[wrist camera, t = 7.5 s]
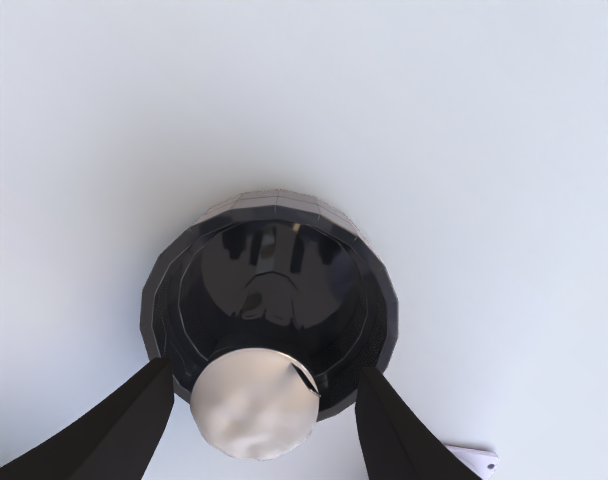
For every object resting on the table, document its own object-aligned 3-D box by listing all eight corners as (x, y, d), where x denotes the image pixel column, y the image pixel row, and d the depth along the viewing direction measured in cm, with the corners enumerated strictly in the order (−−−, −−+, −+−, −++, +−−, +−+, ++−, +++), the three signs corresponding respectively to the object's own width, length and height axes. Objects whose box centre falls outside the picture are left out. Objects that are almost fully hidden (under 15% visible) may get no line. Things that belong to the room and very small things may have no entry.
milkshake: (333, 282, 19) (373, 432, 9) (276, 342, 20) (261, 527, 11) (273, 235, 18) (251, 350, 8) (217, 301, 19) (141, 466, 10)
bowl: (347, 383, 22) (359, 443, 18) (165, 354, 21) (133, 411, 17) (401, 213, 18) (434, 237, 14) (185, 167, 17) (149, 178, 13)
